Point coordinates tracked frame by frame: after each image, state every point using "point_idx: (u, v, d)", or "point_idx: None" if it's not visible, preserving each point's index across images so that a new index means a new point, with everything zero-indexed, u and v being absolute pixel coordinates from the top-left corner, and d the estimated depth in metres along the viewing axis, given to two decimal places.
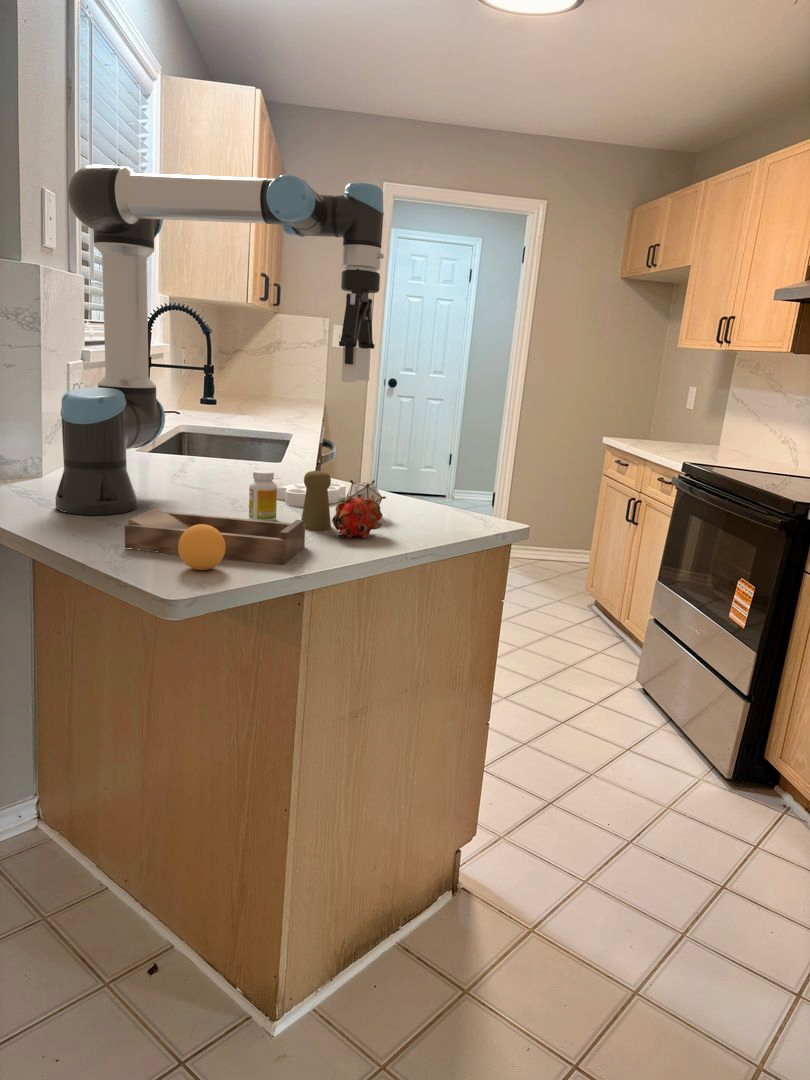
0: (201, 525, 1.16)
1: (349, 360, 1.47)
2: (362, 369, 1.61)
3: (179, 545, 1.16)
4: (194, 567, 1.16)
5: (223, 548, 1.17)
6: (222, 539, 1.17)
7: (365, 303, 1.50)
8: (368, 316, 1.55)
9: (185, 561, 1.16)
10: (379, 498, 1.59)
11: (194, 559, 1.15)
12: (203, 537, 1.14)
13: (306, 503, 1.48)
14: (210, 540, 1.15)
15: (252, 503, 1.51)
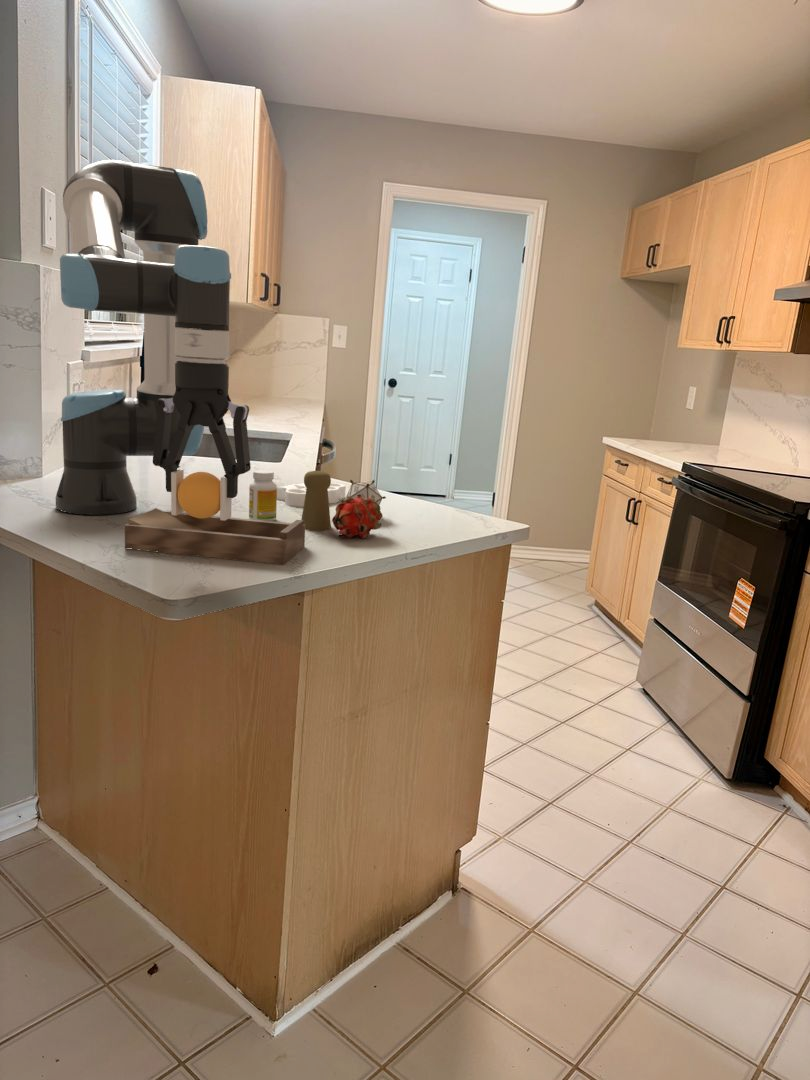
0: (201, 472, 1.15)
1: None
2: None
3: (178, 492, 1.14)
4: (194, 515, 1.15)
5: None
6: None
7: None
8: None
9: (185, 508, 1.14)
10: (379, 498, 1.59)
11: (194, 506, 1.13)
12: (203, 484, 1.13)
13: (306, 503, 1.48)
14: (210, 487, 1.13)
15: (252, 503, 1.51)
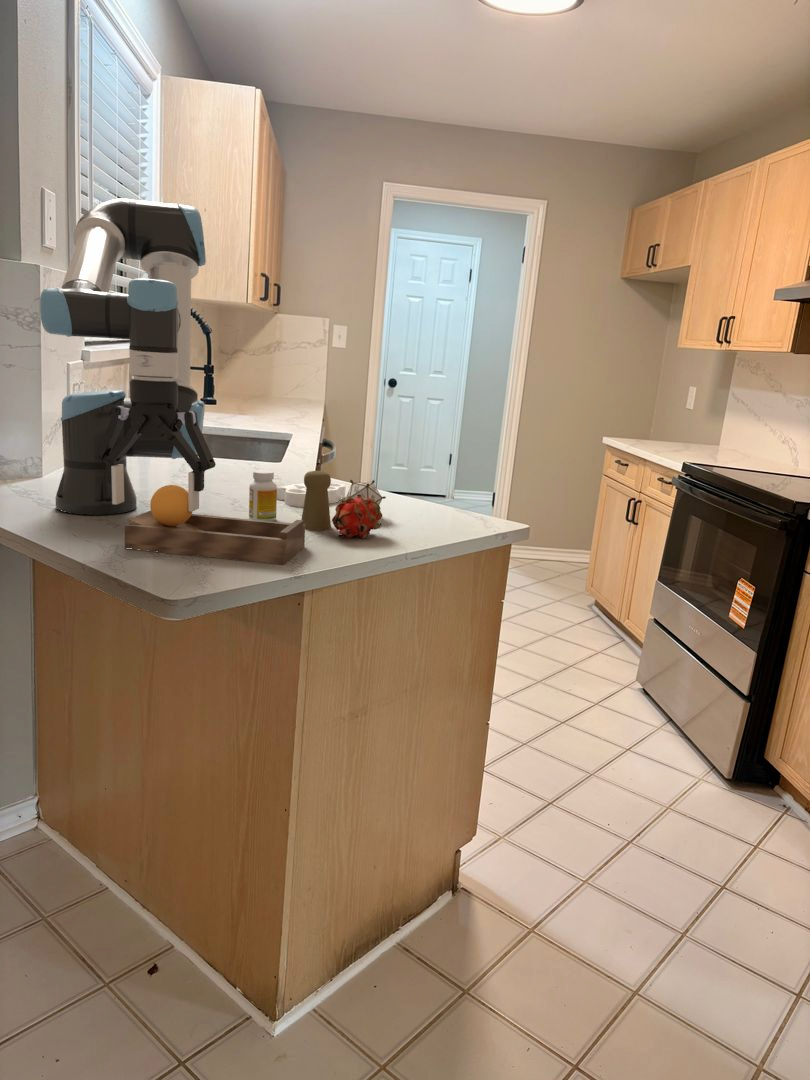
0: (186, 494, 1.29)
1: None
2: None
3: (158, 493, 1.28)
4: (154, 515, 1.29)
5: (185, 521, 1.31)
6: (190, 515, 1.31)
7: None
8: None
9: (152, 507, 1.28)
10: (379, 498, 1.59)
11: (159, 513, 1.28)
12: (180, 506, 1.28)
13: (306, 503, 1.48)
14: (182, 512, 1.28)
15: (252, 503, 1.51)
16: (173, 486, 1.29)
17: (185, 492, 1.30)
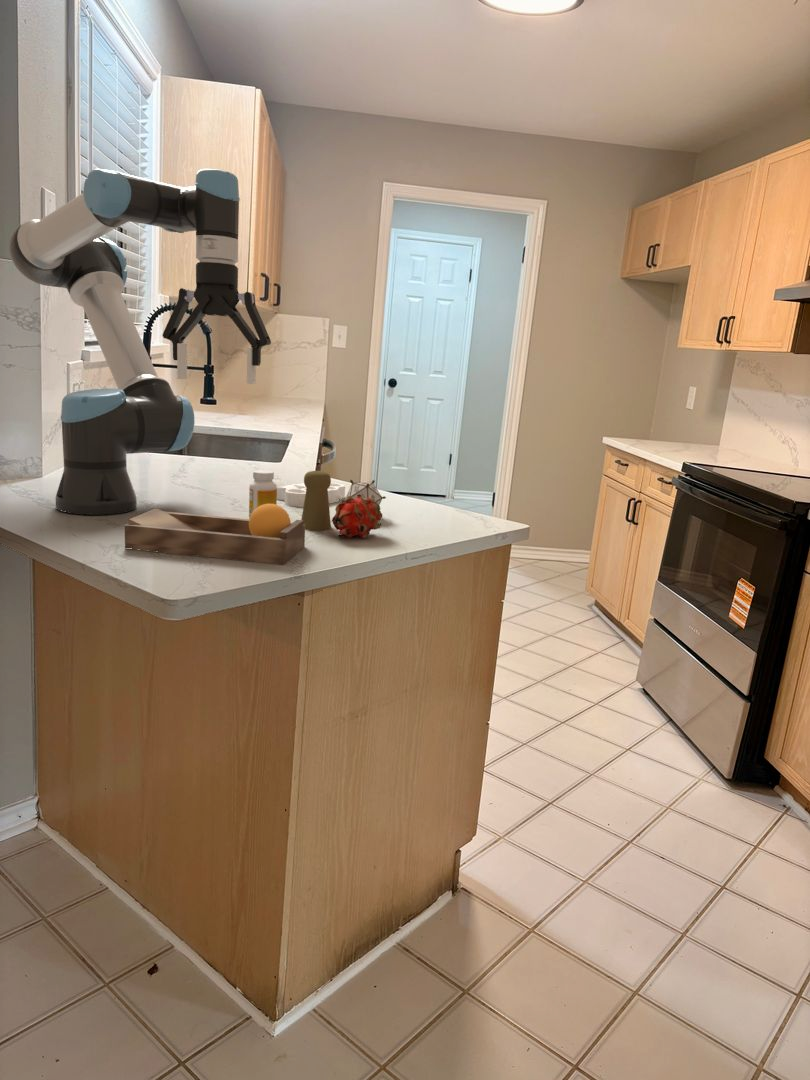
0: None
1: None
2: None
3: (249, 525, 1.29)
4: None
5: (287, 516, 1.30)
6: (284, 510, 1.30)
7: None
8: None
9: None
10: (379, 498, 1.59)
11: (265, 529, 1.27)
12: (267, 508, 1.28)
13: (306, 503, 1.48)
14: (273, 509, 1.28)
15: (252, 503, 1.51)
16: None
17: None
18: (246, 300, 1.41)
